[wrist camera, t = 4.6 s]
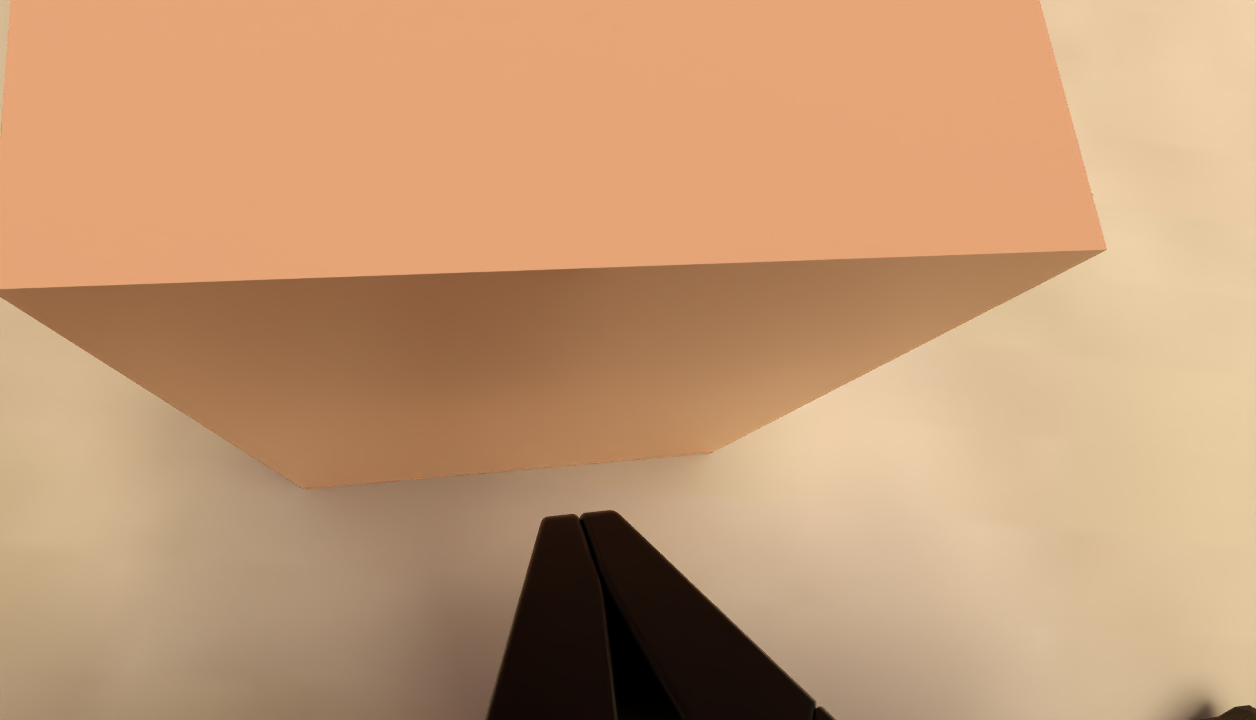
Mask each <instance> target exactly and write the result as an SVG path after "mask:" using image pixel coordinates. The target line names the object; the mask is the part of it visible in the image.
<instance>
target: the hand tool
mask: <svg viewBox="0 0 1256 720" xmlns="http://www.w3.org/2000/svg"><path fill="white" fill-rule="evenodd" d="M1202 720H1256V709H1255V708H1253V707H1252V706H1250V705H1247V706H1239V707H1234V708H1232V709H1231V710H1229V711H1227V712H1225V713H1224V714H1222V715H1220V716H1219V717H1214V718H1208V719H1202Z"/></svg>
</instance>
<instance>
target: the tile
mask: <svg viewBox="0 0 1256 720" xmlns="http://www.w3.org/2000/svg"><path fill="white" fill-rule="evenodd" d="M1105 250H1107V248H1106V245H1105V241H1104V237H1103V234H1102V230H1101V226H1100V222H1099V219H1098V215H1097V211H1096V208H1095V204H1094V200H1093V197H1092V193H1091V189H1090V186H1089V182H1088V178H1087V175H1086V171H1085V167H1084V163H1083V160H1082V156H1081V152H1080V149H1079V145H1078V141H1077V138H1076V134H1075V130H1074V127H1073V123H1072V119H1071V116H1070V112H1069V108H1068V104H1067V101H1066V97H1065V93H1064V90H1063V86H1062V82H1061V79H1060V75H1059V71H1058V68H1057V64H1056V60H1055V57H1054V53H1053V49H1052V45H1051V42H1050V38H1049V34H1048V31H1047V27H1046V23H1045V20H1044V16H1043V12H1042V9H1041V5H1040V1H1039V0H11V5H10V18H9V31H8V44H7V58H6V71H5V84H4V97H3V110H2V123H1V136H0V297H1V298H3V299H5V300H6V301H8V302H9V303H11V304H12V305H14V306H16V307H17V308H19V309H20V310H22V311H23V312H25V313H27V314H28V315H30V316H31V317H33V318H34V319H36V320H38V321H39V322H41V323H42V324H44V325H46V326H47V327H49V328H50V329H52V330H53V331H55V332H57V333H58V334H60V335H61V336H63V337H64V338H66V339H68V340H69V341H71V342H72V343H74V344H75V345H77V346H79V347H80V348H82V349H83V350H85V351H87V352H88V353H90V354H91V355H93V356H94V357H96V358H98V359H99V360H101V361H102V362H104V363H105V364H107V365H109V366H110V367H112V368H113V369H115V370H116V371H118V372H120V373H121V374H123V375H124V376H126V377H127V378H129V379H131V380H132V381H134V382H135V383H137V384H139V385H140V386H142V387H143V388H145V389H146V390H148V391H150V392H151V393H153V394H154V395H156V396H157V397H159V398H161V399H162V400H164V401H165V402H167V403H168V404H170V405H172V406H173V407H175V408H176V409H178V410H180V411H181V412H183V413H184V414H186V415H187V416H189V417H191V418H192V419H194V420H195V421H197V422H198V423H200V424H202V425H203V426H205V427H206V428H208V429H209V430H211V431H213V432H214V433H216V434H217V435H219V436H221V437H222V438H224V439H225V440H227V441H228V442H230V443H232V444H233V445H235V446H236V447H238V448H239V449H241V450H243V451H244V452H246V453H247V454H249V455H250V456H252V457H254V458H255V459H257V460H258V461H260V462H262V463H263V464H265V465H266V466H268V467H269V468H271V469H273V470H274V471H276V472H277V473H279V474H280V475H282V476H284V477H285V478H287V479H288V480H290V481H291V482H293V483H295V484H296V485H298V486H299V487H301V488H302V489H312V488H323V487H334V486H345V485H356V484H368V483H379V482H390V481H401V480H413V479H424V478H435V477H446V476H457V475H469V474H480V473H491V472H502V471H513V470H525V469H536V468H547V467H558V466H569V465H581V464H592V463H603V462H614V461H626V460H637V459H648V458H659V457H670V456H682V455H693V454H704V453H712V452H714V451H716V450H718V449H720V448H722V447H723V446H725V445H727V444H729V443H731V442H733V441H735V440H737V439H739V438H741V437H743V436H745V435H747V434H749V433H751V432H753V431H755V430H757V429H759V428H760V427H762V426H764V425H766V424H768V423H770V422H772V421H774V420H776V419H778V418H780V417H782V416H784V415H786V414H788V413H790V412H792V411H794V410H796V409H797V408H799V407H801V406H803V405H805V404H807V403H809V402H811V401H813V400H815V399H817V398H819V397H821V396H823V395H825V394H827V393H829V392H831V391H833V390H835V389H836V388H838V387H840V386H842V385H844V384H846V383H848V382H850V381H852V380H854V379H856V378H858V377H860V376H862V375H864V374H866V373H868V372H870V371H872V370H873V369H875V368H877V367H879V366H881V365H883V364H885V363H887V362H889V361H891V360H893V359H895V358H897V357H899V356H901V355H903V354H905V353H907V352H909V351H910V350H912V349H914V348H916V347H918V346H920V345H922V344H924V343H926V342H928V341H930V340H932V339H934V338H936V337H938V336H940V335H942V334H944V333H946V332H947V331H949V330H951V329H953V328H955V327H957V326H959V325H961V324H963V323H965V322H967V321H969V320H971V319H973V318H975V317H977V316H979V315H981V314H983V313H984V312H986V311H988V310H990V309H992V308H994V307H996V306H998V305H1000V304H1002V303H1004V302H1006V301H1008V300H1010V299H1012V298H1014V297H1016V296H1018V295H1020V294H1021V293H1023V292H1025V291H1027V290H1029V289H1031V288H1033V287H1035V286H1037V285H1039V284H1041V283H1043V282H1045V281H1047V280H1049V279H1051V278H1053V277H1055V276H1057V275H1058V274H1060V273H1062V272H1064V271H1066V270H1068V269H1070V268H1072V267H1074V266H1076V265H1078V264H1080V263H1082V262H1084V261H1086V260H1088V259H1090V258H1092V257H1094V256H1095V255H1097V254H1099V253H1101V252H1103V251H1105Z"/></svg>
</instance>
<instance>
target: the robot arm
mask: <svg viewBox="0 0 1256 720" xmlns="http://www.w3.org/2000/svg"><path fill="white" fill-rule="evenodd" d="M485 720H836V719H834V718H833V717H832V716H831V715H830V714H829V713H828V712H827V711H826V710H825V709H824V708H823V707H817V708H816V701H815V700H814V699H813V698H812V697H811V696H810V695H809V694H808V693H807V692H806V691H805V690H804V689H803V688H801V687H800V686H799V685H798V684H797V683H796V682H795V681H794V680H793V679H792V678H791V677H790V676H789V675H788V674H787V673H786V672H785V671H784V670H783V669H782V668H780V667H779V666H778V665H777V664H776V663H775V662H774V661H773V660H772V659H771V658H770V657H769V656H768V655H767V654H766V653H765V652H764V651H763V650H762V649H760V648H759V647H758V646H757V645H756V644H755V643H754V642H753V641H752V640H751V639H750V638H749V637H748V636H747V635H746V634H745V633H744V632H743V631H742V630H741V629H739V628H738V627H737V626H736V625H735V624H734V623H733V622H732V621H731V620H730V619H729V618H728V617H727V616H726V615H725V614H724V613H723V612H722V611H721V610H720V609H718V608H717V607H716V606H715V605H714V604H713V603H712V602H711V601H710V600H709V599H708V598H707V597H706V596H705V595H704V594H703V593H702V592H701V591H700V590H698V589H697V588H696V587H695V586H694V585H693V584H692V583H691V582H690V581H689V580H688V579H687V578H686V577H685V576H684V575H683V574H682V573H681V572H680V571H679V570H677V569H676V568H675V567H674V566H673V565H672V564H671V563H670V562H669V561H668V560H667V559H666V558H665V557H664V556H663V555H662V554H661V553H660V552H659V551H658V550H656V549H655V548H654V547H653V546H652V545H651V544H650V543H649V542H648V541H647V540H646V539H645V538H644V537H643V536H642V535H641V534H640V533H639V532H638V531H636V530H635V529H634V528H633V527H632V526H631V525H630V524H629V523H628V522H627V521H626V520H625V519H624V518H623V517H622V516H621V515H620V514H618V513H617V512H615V511H612V510H607V511H598V512H588V513H583V514H582V515H581V516H580V518H579V517H578V516H577V515H575V514H568V515H559V516H549V517H545V518H544V519H543V520H542V522H541V524H540V528H539V531H538V535H537V538H536V542H535V545H534V549H533V552H532V556H531V559H530V563H529V566H528V570H527V573H526V577H525V580H524V584H523V587H522V591H521V594H520V598H519V601H518V605H517V608H516V612H515V615H514V619H513V622H512V626H511V629H510V633H509V636H508V640H507V643H506V647H505V650H504V654H503V657H502V661H501V664H500V668H499V671H498V675H497V678H496V682H495V685H494V689H493V692H492V696H491V699H490V703H489V706H488V710H487V713H486V717H485Z"/></svg>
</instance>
